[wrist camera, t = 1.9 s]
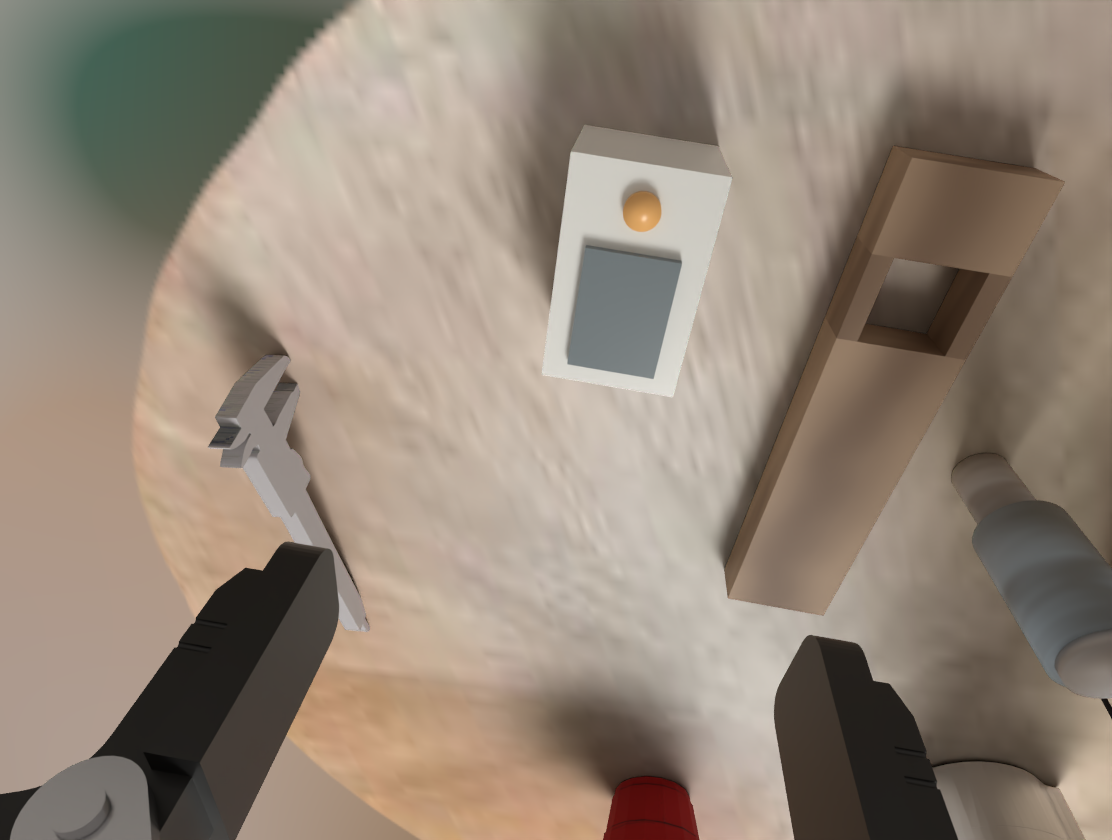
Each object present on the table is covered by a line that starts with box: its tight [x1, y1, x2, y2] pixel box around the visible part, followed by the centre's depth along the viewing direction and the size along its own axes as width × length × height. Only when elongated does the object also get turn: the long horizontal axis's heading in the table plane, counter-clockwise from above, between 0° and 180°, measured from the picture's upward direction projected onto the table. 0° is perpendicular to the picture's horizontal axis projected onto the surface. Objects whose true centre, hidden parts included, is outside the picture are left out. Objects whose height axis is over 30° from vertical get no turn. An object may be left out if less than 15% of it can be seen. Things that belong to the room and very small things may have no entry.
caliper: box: [208, 355, 370, 632], centre depth 34 cm, size 20×1×6 cm, turn 2°
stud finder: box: [542, 125, 733, 397], centre depth 24 cm, size 5×8×5 cm, turn 173°
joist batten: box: [724, 146, 1065, 616], centre depth 28 cm, size 5×22×2 cm, turn 173°
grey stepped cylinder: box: [951, 453, 1112, 698], centre depth 25 cm, size 4×4×10 cm
